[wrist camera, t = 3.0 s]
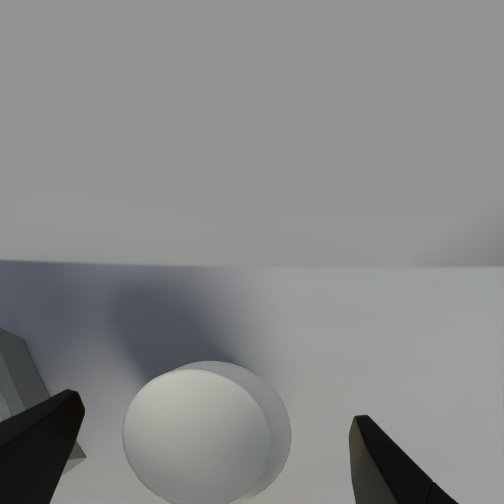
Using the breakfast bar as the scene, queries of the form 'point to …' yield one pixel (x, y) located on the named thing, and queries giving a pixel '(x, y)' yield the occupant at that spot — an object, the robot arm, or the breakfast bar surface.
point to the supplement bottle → (207, 434)
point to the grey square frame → (24, 383)
